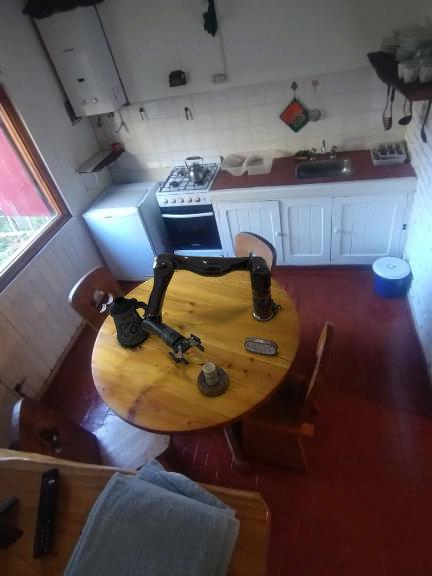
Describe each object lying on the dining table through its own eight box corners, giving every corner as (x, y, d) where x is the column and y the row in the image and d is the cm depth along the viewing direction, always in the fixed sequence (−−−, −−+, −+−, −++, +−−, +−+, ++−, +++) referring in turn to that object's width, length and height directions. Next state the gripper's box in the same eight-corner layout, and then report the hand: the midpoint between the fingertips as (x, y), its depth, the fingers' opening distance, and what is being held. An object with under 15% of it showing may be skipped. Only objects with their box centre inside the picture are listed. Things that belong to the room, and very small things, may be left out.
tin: (278, 351, 154) (278, 339, 149) (277, 357, 152) (276, 345, 146) (246, 346, 159) (244, 334, 154) (244, 351, 157) (242, 339, 152)
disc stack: (214, 372, 148) (211, 359, 142) (220, 381, 144) (217, 368, 138) (204, 378, 146) (200, 365, 141) (209, 387, 142) (206, 374, 137)
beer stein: (114, 336, 178) (94, 301, 163) (147, 316, 185) (131, 280, 170) (127, 354, 166) (107, 318, 151) (161, 332, 173) (145, 296, 158)
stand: (218, 367, 153) (217, 361, 150) (233, 386, 144) (231, 381, 141) (195, 380, 149) (193, 375, 147) (208, 401, 140) (206, 396, 138)
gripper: (157, 342, 148) (181, 362, 138) (182, 323, 155) (206, 340, 145) (162, 353, 153) (185, 373, 143) (186, 334, 160) (210, 351, 150)
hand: (196, 356), depth 144 cm, fingers open, 8 cm apart
